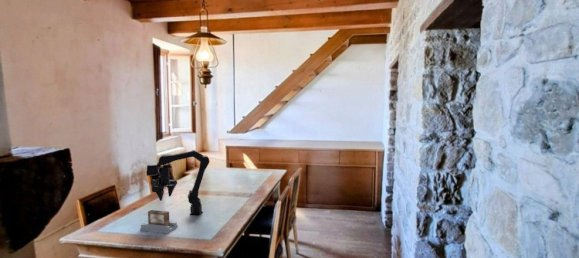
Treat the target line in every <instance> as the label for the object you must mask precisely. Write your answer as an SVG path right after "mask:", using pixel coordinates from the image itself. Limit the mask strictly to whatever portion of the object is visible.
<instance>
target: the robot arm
mask: <svg viewBox="0 0 579 258" xmlns="http://www.w3.org/2000/svg"><path fill="white" fill-rule="evenodd" d="M189 158H194V159H196V160H197V161H198V162H199V167H198V170H197V171H198V172H197V174H196V177H195V181H194V182H193V183H194V184H193V187H192V188H191V190H190V189H189V190H188V194H187V199H188V203H189V204H190V206H189V207H190V209H189V211H190V213H189V216H200V215H201V214H203V212H204V211H203V208H202V206H203V205H202V201H201V199H200V198H199V190H200V186H201V184H202V180H203V177H204V175H205V171H206V169H207V167H208V165H209V164H210V162H211V161H210V158H209V156H208V155H205V154H202V153H200V152H198V151H197V150H195V149H193V150H190V151H185V152H179V153H175V154H174V153H173V154H168V153H167V154H161V156H160V157H159V159H158V162H157V163H156V164H147V165H146V176H147V177H150V176H151V177H152V176H157V175H158V174H159V176H158V177H157V178H156V179H155V178H153V179H150V185H151V186H152V187H151V192H153V193H156V194H157V197H158V199H159V201H163V197H164V193H165V190H164V189H165V188H167V193H168V197H171V196H172V194H173V192H174V190H175V188H176V186H177V185H178V181H177V180H176V179H170V178H172V175H170V169H171V168H173V165H172V164H171V163H172V162H175V161H180V160H184V159H189Z"/></svg>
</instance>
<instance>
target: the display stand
mask: <svg viewBox="0 0 579 258" xmlns="http://www.w3.org/2000/svg"><path fill="white" fill-rule="evenodd" d="M169 223H170V226H164V225H154V224H148V223H142V224H140V228H139V231H141V232H150V233H160V234H170V233H171V232H172V231H173V230H176V228H178V227H179V226H178V224H177V223H178V222H177V221H171V220H169Z"/></svg>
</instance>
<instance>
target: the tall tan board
mask: <svg viewBox="0 0 579 258" xmlns="http://www.w3.org/2000/svg"><path fill="white" fill-rule="evenodd" d="M169 221H170V211H167V210H155V209H150V210H148V211H147V222H148V223H147V224H154V225H164V226H170V223H169Z"/></svg>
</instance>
